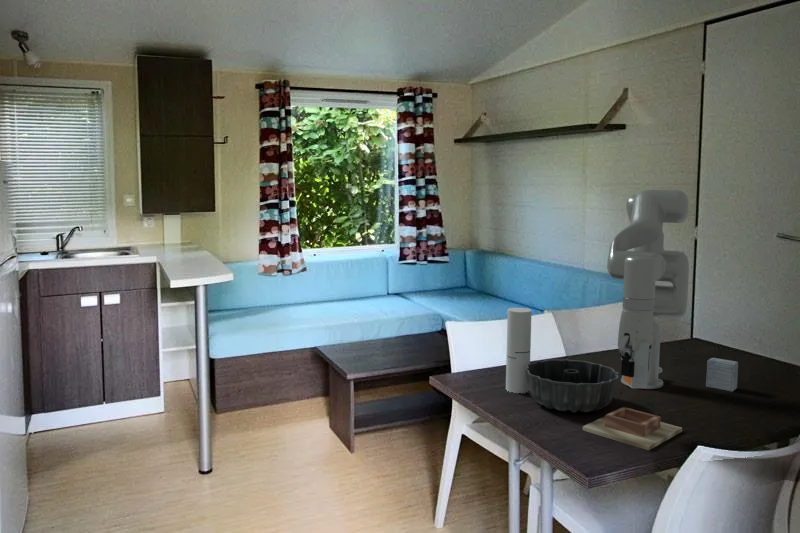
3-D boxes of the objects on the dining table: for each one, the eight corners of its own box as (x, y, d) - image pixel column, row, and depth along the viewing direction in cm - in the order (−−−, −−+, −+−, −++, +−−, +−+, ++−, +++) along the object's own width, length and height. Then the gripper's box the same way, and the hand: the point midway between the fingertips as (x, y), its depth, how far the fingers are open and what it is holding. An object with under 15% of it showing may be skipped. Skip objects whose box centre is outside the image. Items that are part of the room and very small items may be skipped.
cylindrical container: (529, 394, 205) (531, 312, 202) (505, 392, 207) (507, 311, 203) (529, 387, 212) (531, 308, 209) (506, 385, 214) (508, 307, 210)
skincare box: (621, 381, 177) (623, 336, 175) (637, 381, 177) (639, 336, 176) (631, 388, 171) (633, 342, 169) (647, 388, 171) (650, 341, 170)
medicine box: (737, 389, 211) (738, 361, 210) (732, 392, 208) (734, 364, 206) (710, 383, 216) (712, 357, 215) (705, 386, 213) (707, 359, 212)
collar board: (617, 413, 188) (618, 399, 188) (682, 431, 175) (682, 416, 175) (582, 430, 176) (583, 415, 176) (648, 450, 163) (649, 434, 163)
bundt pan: (541, 384, 215) (542, 353, 214) (627, 398, 202) (628, 365, 200) (510, 409, 193) (510, 374, 191) (604, 426, 179) (605, 389, 178)
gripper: (641, 298, 180) (637, 364, 182) (606, 306, 168) (603, 376, 171) (668, 302, 175) (664, 369, 177) (635, 311, 163) (631, 383, 165)
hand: (634, 372), depth 174 cm, fingers closed on skincare box, 6 cm apart
